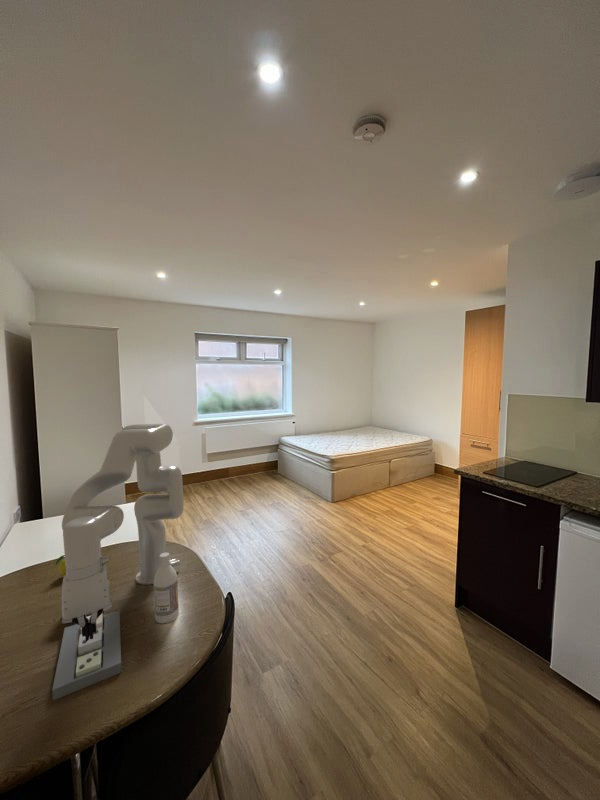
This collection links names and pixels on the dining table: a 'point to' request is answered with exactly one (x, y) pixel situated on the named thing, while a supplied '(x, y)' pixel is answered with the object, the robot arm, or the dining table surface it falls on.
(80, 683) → the board
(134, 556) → the dining table surface
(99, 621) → the tile one
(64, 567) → the lemon
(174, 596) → the bath foam
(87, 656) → the tile three
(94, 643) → the tile two
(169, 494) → the robot arm
